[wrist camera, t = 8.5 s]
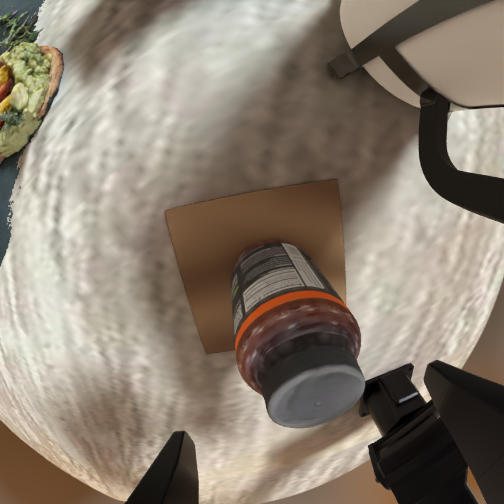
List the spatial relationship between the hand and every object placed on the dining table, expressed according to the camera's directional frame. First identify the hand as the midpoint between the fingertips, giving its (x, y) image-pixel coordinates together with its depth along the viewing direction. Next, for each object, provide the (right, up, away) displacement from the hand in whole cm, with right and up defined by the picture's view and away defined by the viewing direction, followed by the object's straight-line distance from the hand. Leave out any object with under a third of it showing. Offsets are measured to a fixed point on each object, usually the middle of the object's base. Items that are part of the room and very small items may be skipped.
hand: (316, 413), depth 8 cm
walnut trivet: (-1, +4, +13) cm, 14 cm away
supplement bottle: (-1, +4, +12) cm, 13 cm away
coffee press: (+9, +21, +8) cm, 24 cm away
